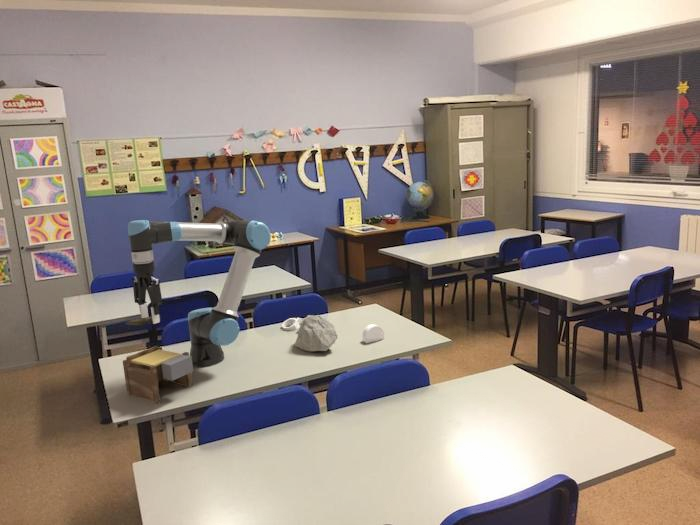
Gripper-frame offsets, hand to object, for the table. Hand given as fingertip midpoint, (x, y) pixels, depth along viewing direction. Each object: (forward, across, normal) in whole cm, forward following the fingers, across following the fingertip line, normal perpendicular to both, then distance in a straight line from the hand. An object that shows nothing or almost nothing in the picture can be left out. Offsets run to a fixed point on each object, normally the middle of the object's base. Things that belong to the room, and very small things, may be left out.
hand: (150, 321), depth 217 cm
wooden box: (+28, 0, 0) cm, 28 cm away
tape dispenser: (+31, +48, +82) cm, 100 cm away
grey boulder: (+28, +29, +62) cm, 74 cm away
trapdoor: (+14, +7, 0) cm, 16 cm away
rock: (+35, +8, +78) cm, 85 cm away
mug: (+31, +2, +86) cm, 91 cm away
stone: (-1, +4, -1) cm, 4 cm away
